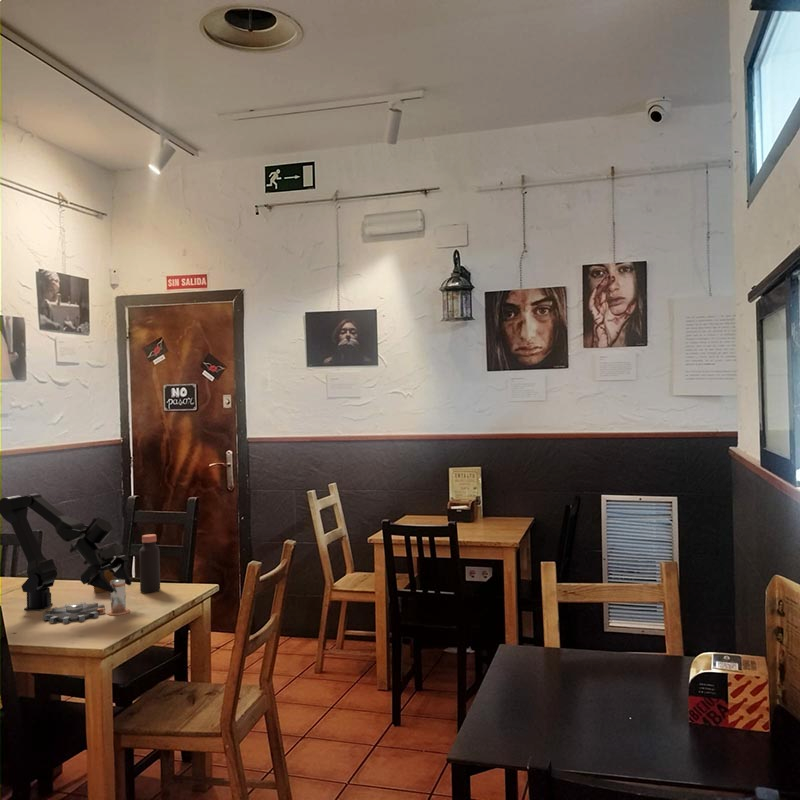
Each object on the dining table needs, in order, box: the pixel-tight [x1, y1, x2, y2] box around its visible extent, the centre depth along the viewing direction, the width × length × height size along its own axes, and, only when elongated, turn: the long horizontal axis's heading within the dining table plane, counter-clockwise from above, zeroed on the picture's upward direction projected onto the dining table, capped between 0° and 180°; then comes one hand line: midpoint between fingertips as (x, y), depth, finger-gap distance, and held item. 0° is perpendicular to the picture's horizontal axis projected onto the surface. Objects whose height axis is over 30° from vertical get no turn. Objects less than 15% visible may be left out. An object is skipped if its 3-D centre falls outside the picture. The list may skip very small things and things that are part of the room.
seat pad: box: [106, 608, 131, 616], centre depth 233 cm, size 7×7×1 cm
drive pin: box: [110, 578, 126, 613], centre depth 233 cm, size 4×4×10 cm
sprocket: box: [43, 601, 106, 624], centre depth 231 cm, size 18×18×3 cm
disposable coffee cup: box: [93, 555, 117, 593], centre depth 262 cm, size 10×10×12 cm
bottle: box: [139, 533, 161, 594], centre depth 259 cm, size 7×7×20 cm
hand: (121, 588), depth 233 cm, fingers open, 9 cm apart
